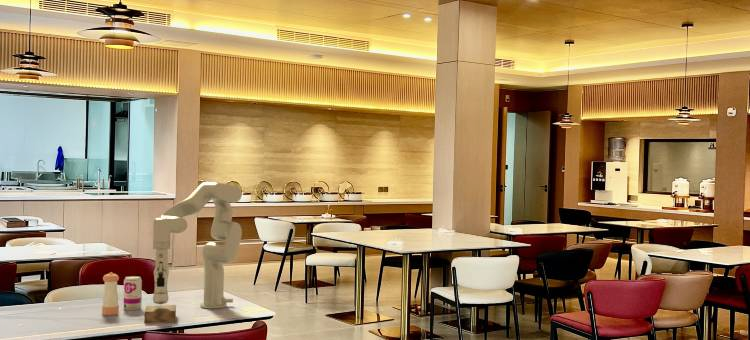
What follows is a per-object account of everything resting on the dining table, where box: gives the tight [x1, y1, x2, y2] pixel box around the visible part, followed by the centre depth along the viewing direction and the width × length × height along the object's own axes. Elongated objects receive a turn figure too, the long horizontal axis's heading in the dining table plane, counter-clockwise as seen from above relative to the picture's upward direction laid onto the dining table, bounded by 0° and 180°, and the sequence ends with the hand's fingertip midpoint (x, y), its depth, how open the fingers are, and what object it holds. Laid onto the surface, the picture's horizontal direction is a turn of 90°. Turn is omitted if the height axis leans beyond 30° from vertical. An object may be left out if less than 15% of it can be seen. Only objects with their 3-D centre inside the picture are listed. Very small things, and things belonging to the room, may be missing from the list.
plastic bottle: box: [152, 262, 170, 305], centre depth 337 cm, size 6×7×20 cm
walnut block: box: [144, 304, 177, 324], centre depth 337 cm, size 13×13×5 cm
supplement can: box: [123, 275, 143, 311], centre depth 359 cm, size 8×8×15 cm
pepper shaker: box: [101, 271, 120, 316], centre depth 347 cm, size 7×7×19 cm
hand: (160, 285), depth 337 cm, fingers closed on plastic bottle, 5 cm apart
